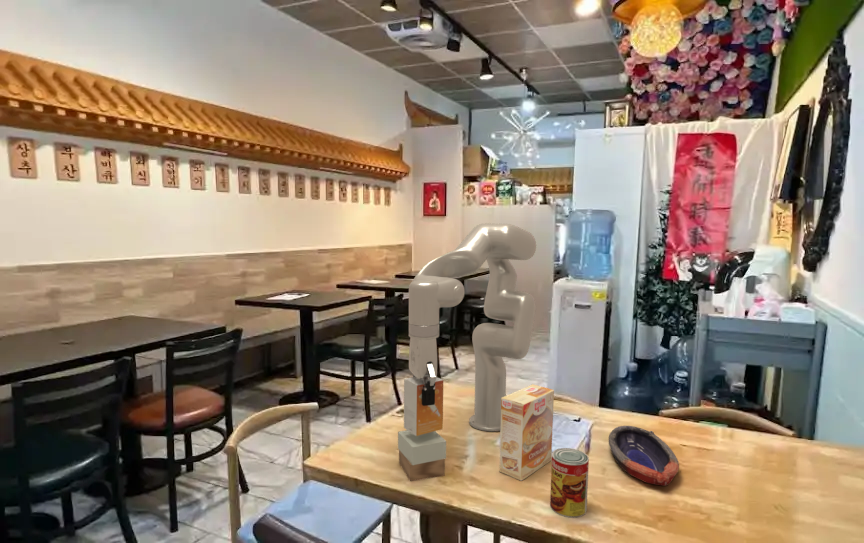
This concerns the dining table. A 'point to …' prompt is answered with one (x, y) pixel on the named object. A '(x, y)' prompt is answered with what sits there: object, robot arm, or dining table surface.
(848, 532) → the dining table surface
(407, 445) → the tower top
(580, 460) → the canned food
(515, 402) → the coffeecake box
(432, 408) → the small box
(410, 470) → the tower base
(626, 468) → the dish
